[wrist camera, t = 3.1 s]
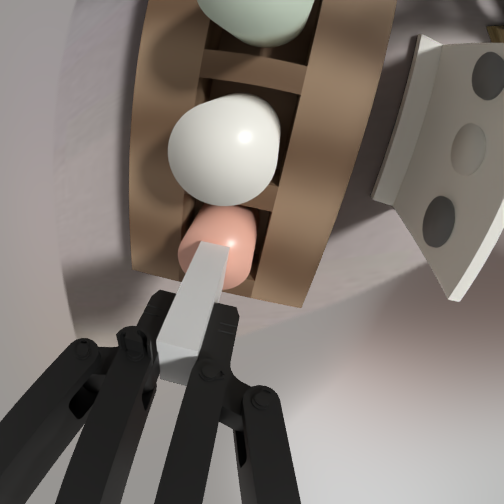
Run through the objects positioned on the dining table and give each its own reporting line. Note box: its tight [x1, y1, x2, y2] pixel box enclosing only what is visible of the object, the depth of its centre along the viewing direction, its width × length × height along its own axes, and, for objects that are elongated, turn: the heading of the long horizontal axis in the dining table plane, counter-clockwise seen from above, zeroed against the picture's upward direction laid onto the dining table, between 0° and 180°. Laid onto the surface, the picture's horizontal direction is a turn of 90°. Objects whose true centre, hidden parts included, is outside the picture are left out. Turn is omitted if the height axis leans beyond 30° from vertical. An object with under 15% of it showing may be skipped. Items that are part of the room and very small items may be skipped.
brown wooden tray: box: [129, 0, 397, 308], centre depth 16 cm, size 21×12×4 cm, turn 169°
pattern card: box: [371, 34, 504, 302], centre depth 12 cm, size 12×4×10 cm, turn 169°
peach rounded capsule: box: [178, 202, 260, 290], centre depth 18 cm, size 4×4×5 cm
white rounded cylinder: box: [168, 93, 281, 206], centre depth 12 cm, size 4×4×5 cm
